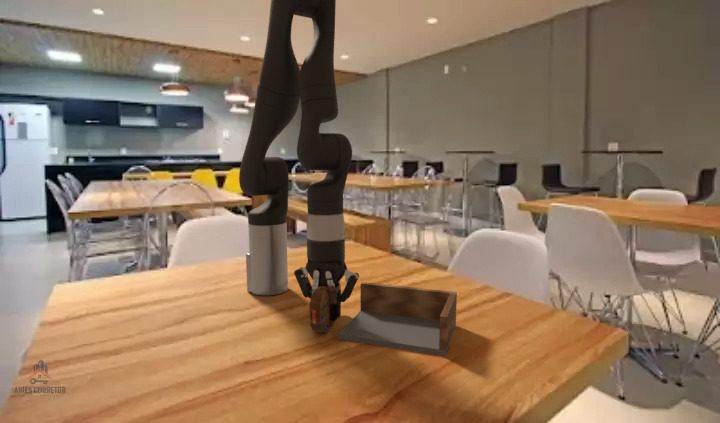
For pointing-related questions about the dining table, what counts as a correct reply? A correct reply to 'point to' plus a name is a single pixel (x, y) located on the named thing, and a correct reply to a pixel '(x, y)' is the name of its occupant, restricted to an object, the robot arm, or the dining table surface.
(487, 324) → the dining table surface
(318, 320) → the tin
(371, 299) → the walls
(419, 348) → the mat
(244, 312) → the dining table surface
